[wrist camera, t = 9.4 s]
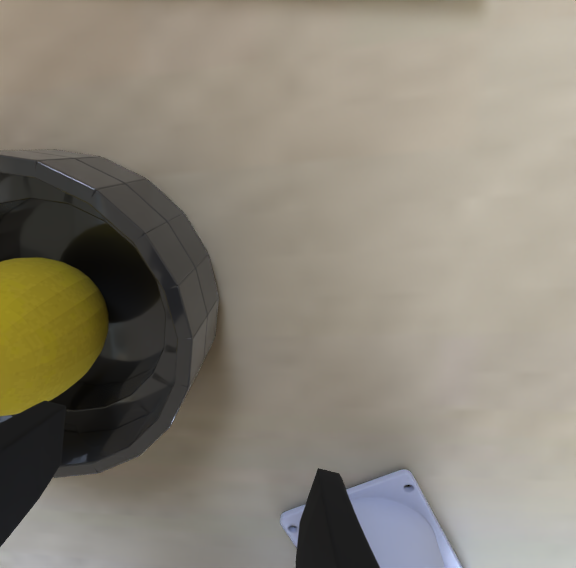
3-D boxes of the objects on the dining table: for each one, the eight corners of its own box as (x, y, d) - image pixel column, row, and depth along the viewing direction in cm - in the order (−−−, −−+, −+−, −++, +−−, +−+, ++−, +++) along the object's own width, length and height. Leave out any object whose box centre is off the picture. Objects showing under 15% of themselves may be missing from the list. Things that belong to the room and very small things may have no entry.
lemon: (122, 233, 19) (-8, 293, 11) (147, 343, 21) (50, 459, 13) (8, 244, 19) (-189, 308, 12) (42, 351, 21) (-110, 467, 14)
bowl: (268, 347, 21) (255, 407, 16) (64, 440, 23) (0, 515, 19) (117, 92, 17) (44, 73, 13) (-102, 235, 20) (-230, 262, 15)
